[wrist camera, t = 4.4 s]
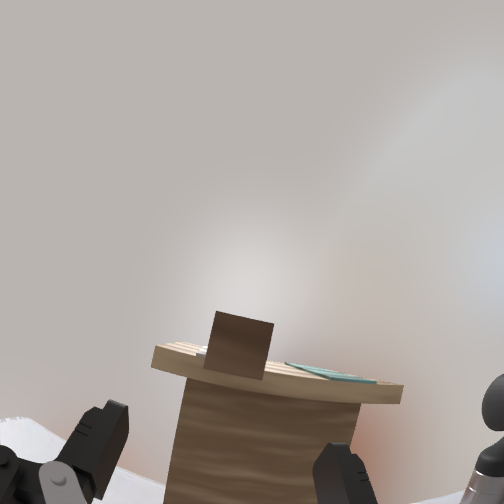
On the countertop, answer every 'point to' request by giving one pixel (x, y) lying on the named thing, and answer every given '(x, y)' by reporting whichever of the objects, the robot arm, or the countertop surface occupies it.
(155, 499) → the countertop surface
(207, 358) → the walnut bar
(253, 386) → the oak lectern
